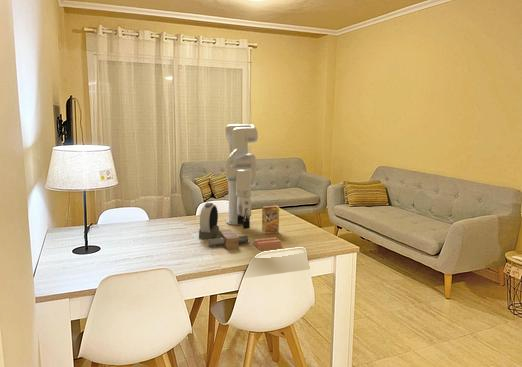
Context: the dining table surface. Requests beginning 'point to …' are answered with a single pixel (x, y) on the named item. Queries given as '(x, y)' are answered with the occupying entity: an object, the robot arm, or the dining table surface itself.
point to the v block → (267, 243)
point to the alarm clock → (209, 222)
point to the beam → (229, 239)
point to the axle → (221, 241)
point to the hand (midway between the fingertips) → (243, 226)
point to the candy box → (270, 219)
